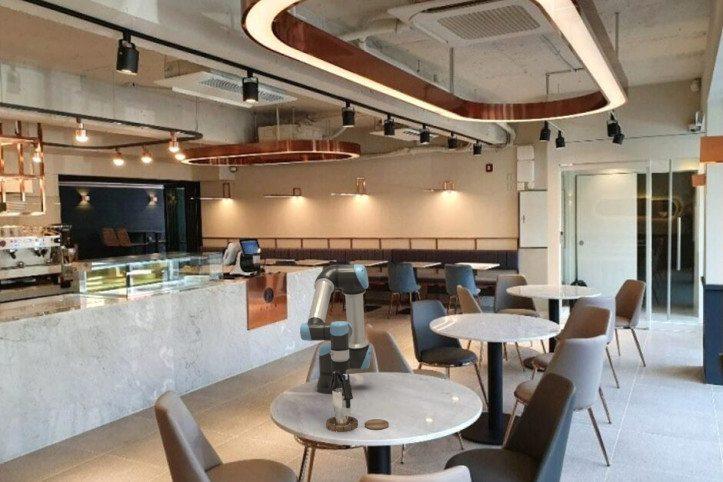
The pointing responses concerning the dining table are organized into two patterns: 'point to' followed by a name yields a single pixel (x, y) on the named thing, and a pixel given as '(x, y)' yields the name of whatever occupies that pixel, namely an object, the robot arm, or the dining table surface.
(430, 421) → the dining table surface
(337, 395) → the beer glass
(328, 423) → the ring
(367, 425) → the walnut coaster
